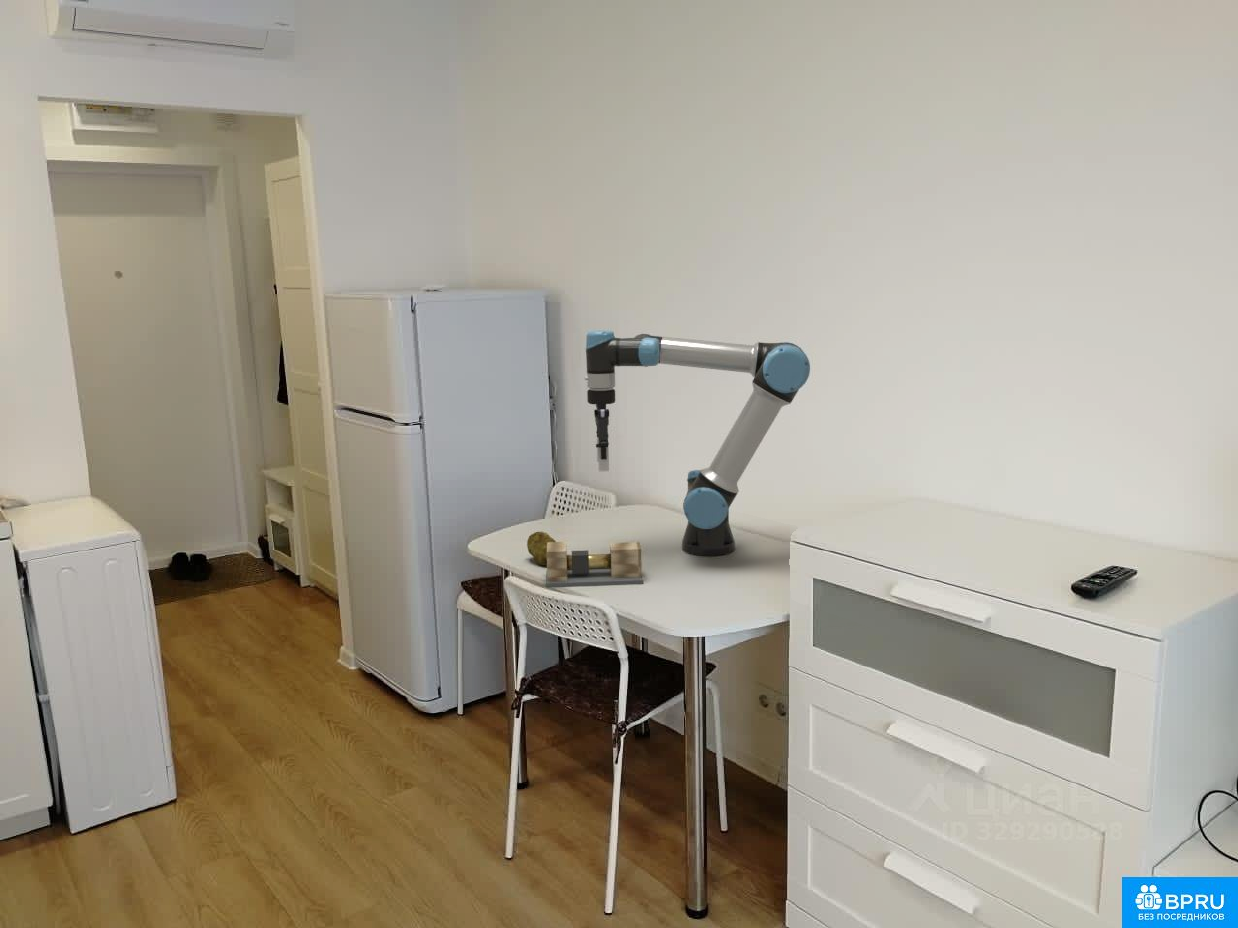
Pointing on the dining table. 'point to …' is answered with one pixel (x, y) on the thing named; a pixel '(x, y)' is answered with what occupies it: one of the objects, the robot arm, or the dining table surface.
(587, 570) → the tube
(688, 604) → the dining table surface
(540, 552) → the potato
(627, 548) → the sleeve
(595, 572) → the board
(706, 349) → the robot arm
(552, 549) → the socket
